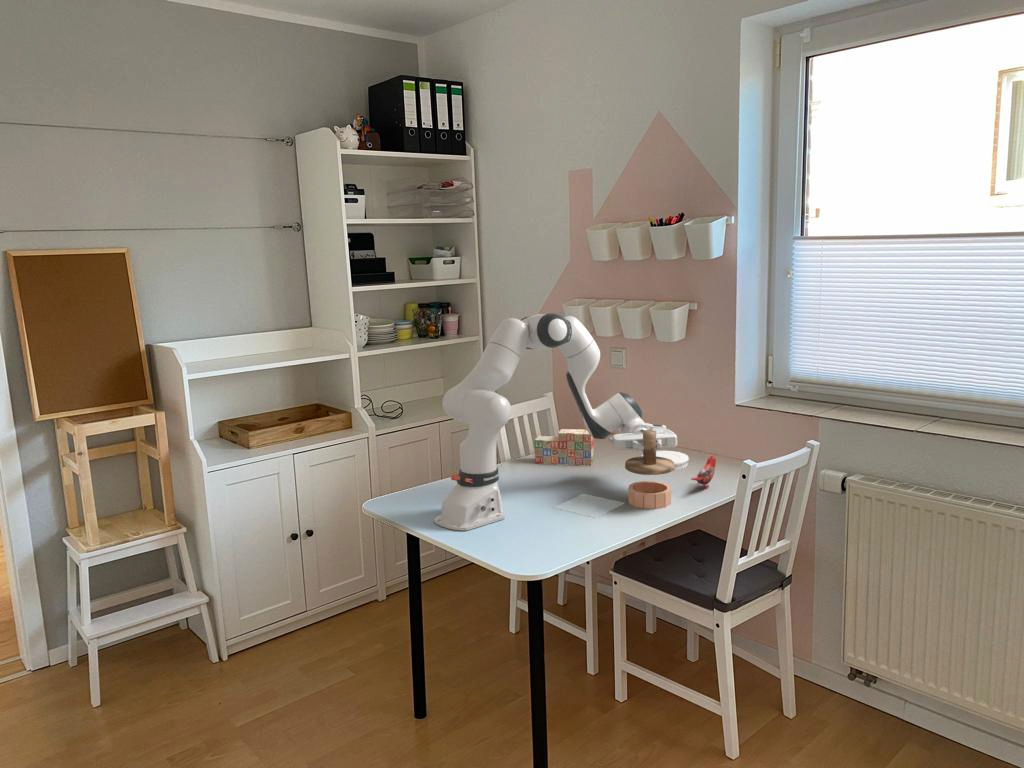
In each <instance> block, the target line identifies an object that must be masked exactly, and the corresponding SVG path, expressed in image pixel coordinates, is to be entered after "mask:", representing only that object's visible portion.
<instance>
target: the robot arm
mask: <svg viewBox="0 0 1024 768" xmlns="http://www.w3.org/2000/svg"><path fill="white" fill-rule="evenodd" d="M551 348H552V349H555V348H558V349H559V350H560V353H562V355H563V357H564V358H565V360H566V364H567V372H566V374H565V378H566V381H567V384H568V387H569V389H570V391H571V394H572V396H573V398H574V401H575V403H576V405H577V408H578V410H579V412H580V415H581V417H582V419H583V423H584V427H585V430H587V431H588V433H589V434H590V435H591V436H592V437H593V438H594V439H596V440H597V439H598V440H605V439H607V437H608V436H610V435H611V434H612V433H613V432H614V431H616V430H617V429H618V431H619V433H615V434H613V435H612V437H609V439H608V440H609V442H611V443H612V448H613V449H614V450H617V451H627V450H635V451H643V450H644V444H643V431H645V430H654V431H656V450H662V448H663V449H664V448H675V447H678V436H677V434H676V433H675V432H673V431H672V430H670V429H668V428H667V426H666V425H665V424H651V423H648V422H645V421H644V420H643V411H642V409H641V407H640V405H639V404H638V402H637V401H636V400H635V399H634V398H633V397H632V396H631V395H630V394H628V393H625V392H618V393H616V394H614V395H613V396H612V397H610V398H608V399H607V400H606V401H605V402H603V403H602V404H600V405H598V406H597V407H595V408H593V406H592V405H591V403H590V400H589V399H588V395H587V394H586V385H587V382H588V380H589V379H590V378H591V376H592V375H593V373H594V372H595V371H596V369H597V368H598V366H599V363H600V360H601V350H600V348H599V346H598V344H597V342H596V341H595V339H594V337H593V336H592V335H591V333H590V332H589V330H588V329H587V328H586V327H585V326H584V324H583V323H582V322H581V321H580V320H579V319H578V318H576V317H575V316H572V315H566V316H562V315H560V314H557V313H552V312H551V313H537V314H534V315H530V316H529V315H528V316H526V317H523V318H522V319H518V318H516V317H515V318H514V317H508V318H505V319H504V320H503V321H501V323H500V324H499V326H498V327H497V328H496V329H495V331H494V333H493V334H492V335H491V337H490V338H489V341H488V343H487V345H486V347H485V348H484V351H483V352H482V354H481V356H480V358H479V360H478V361H477V363H476V364H475V366H474V368H473V369H472V370H471V371H470V373H468V374H467V375H466V377H464V379H462V380H461V382H459V383H458V384H456V385H455V386H453V387H452V388H449V389H448V390H447V391H446V392H445V394H444V396H443V398H442V409H443V412H444V413H445V414H446V415H447V416H449V417H450V418H451V419H453V420H455V421H457V422H460V423H464V424H467V425H468V431H467V436H466V438H464V439H463V440H462V441H461V442H460V444H459V458H460V459H459V461H460V469H459V472H458V474H456V473H451V475H450V480H451V481H454V482H456V484H455V485H454V487H453V488H452V490H450V492H449V493H448V495H447V496H446V497H445V498H444V500H443V501H442V504H441V513H440V514H439V515H437V516H436V517H434V519H433V522H434V523H435V524H436V525H438V526H439V527H443V528H445V529H449V530H454V531H466V532H467V531H471V530H473V529H475V528H476V529H477V528H479V527H483V526H485V525H489V524H492V523H495V522H498V521H501V520H504V519H505V518H506V516H505V510H504V507H503V503H502V497H501V492H500V487H499V482H498V481H499V479H500V477H499V474H500V472H499V467H497V465H498V463H497V462H498V461H497V444H498V443H497V442H498V438H499V436H500V432H501V430H502V429H503V428H504V426H505V425H506V424H507V423H508V422H509V421H510V418H511V415H512V406H511V403H510V401H509V400H508V399H507V398H506V397H504V396H503V395H501V394H499V393H497V392H496V391H497V390H498V389H499V388H500V387H502V386H504V385H506V384H507V383H509V381H511V379H512V378H513V377H512V376H513V375H514V372H515V371H516V369H517V367H518V365H519V362H520V361H521V359H522V356H523V354H524V352H525V350H526V349H527V350H548V349H551Z"/></svg>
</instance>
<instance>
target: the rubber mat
mask: <svg viewBox="0 0 1024 768" xmlns="http://www.w3.org/2000/svg"><path fill="white" fill-rule="evenodd" d="M625 504H626V502H622V501H619V500H614V499H613V500H612V499H608V498H604V497H601V496H596V495H591V494H587V493H581V494H579V495H577V496H575V497H573V498H571V499H569V500H567V501H564V502H561V503H560V504H558V505H556V506H553V508H554V509H558V510H562V511H566V512H568V513H569V512H570V513H572V514H578V515H581V516H582V515H583V516H585V517H591V518H594V519H597V518H599V517H601V516H603V515H605V514H607V513H609V512H611V511H613V510H615V509H617V508H618V507H621V506H623V505H625Z"/></svg>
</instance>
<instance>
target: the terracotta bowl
mask: <svg viewBox="0 0 1024 768" xmlns="http://www.w3.org/2000/svg"><path fill="white" fill-rule="evenodd" d="M627 491H628V504H630V505H631V506H632V507H634V508H637V509H638V508H639V509H643V510H646V509H647V510H658V509H663V508H667V507H669V506H670V505H672V486H671V485H669V484H668V483H665V482H662V481H661V482H660V481H656V480H641V481H636V482H633V483H630V484H629V485H628V490H627Z"/></svg>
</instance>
